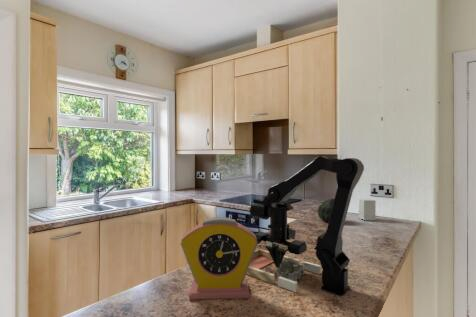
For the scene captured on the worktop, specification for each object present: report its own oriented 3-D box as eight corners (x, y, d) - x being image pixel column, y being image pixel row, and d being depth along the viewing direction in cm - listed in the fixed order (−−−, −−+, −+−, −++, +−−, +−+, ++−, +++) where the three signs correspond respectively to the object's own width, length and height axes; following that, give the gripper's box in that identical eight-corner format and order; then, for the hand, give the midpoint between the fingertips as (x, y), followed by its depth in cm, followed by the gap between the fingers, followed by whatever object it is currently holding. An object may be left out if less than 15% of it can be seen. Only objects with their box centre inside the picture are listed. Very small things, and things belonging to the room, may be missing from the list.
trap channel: (299, 266, 99) (299, 259, 99) (272, 283, 86) (272, 275, 86) (258, 254, 111) (258, 248, 111) (229, 267, 98) (229, 260, 98)
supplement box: (375, 221, 168) (376, 200, 168) (363, 221, 168) (363, 200, 168) (370, 218, 176) (370, 198, 175) (358, 218, 176) (358, 198, 176)
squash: (324, 208, 180) (319, 192, 171) (348, 212, 171) (344, 196, 163) (318, 226, 171) (312, 210, 163) (342, 231, 163) (338, 215, 154)
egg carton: (287, 268, 98) (287, 257, 98) (307, 274, 94) (307, 262, 94) (272, 279, 89) (272, 266, 89) (294, 285, 85) (294, 272, 85)
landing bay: (321, 273, 94) (321, 265, 94) (295, 292, 80) (295, 283, 80) (304, 268, 98) (304, 261, 98) (277, 285, 84) (278, 277, 84)
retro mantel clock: (179, 300, 76) (179, 222, 75) (183, 284, 85) (183, 215, 85) (258, 298, 77) (259, 221, 77) (255, 283, 86) (255, 214, 86)
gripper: (314, 222, 94) (314, 267, 95) (269, 214, 107) (268, 254, 107) (298, 228, 86) (298, 278, 86) (251, 218, 98) (250, 262, 98)
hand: (278, 267), depth 95 cm, fingers closed
